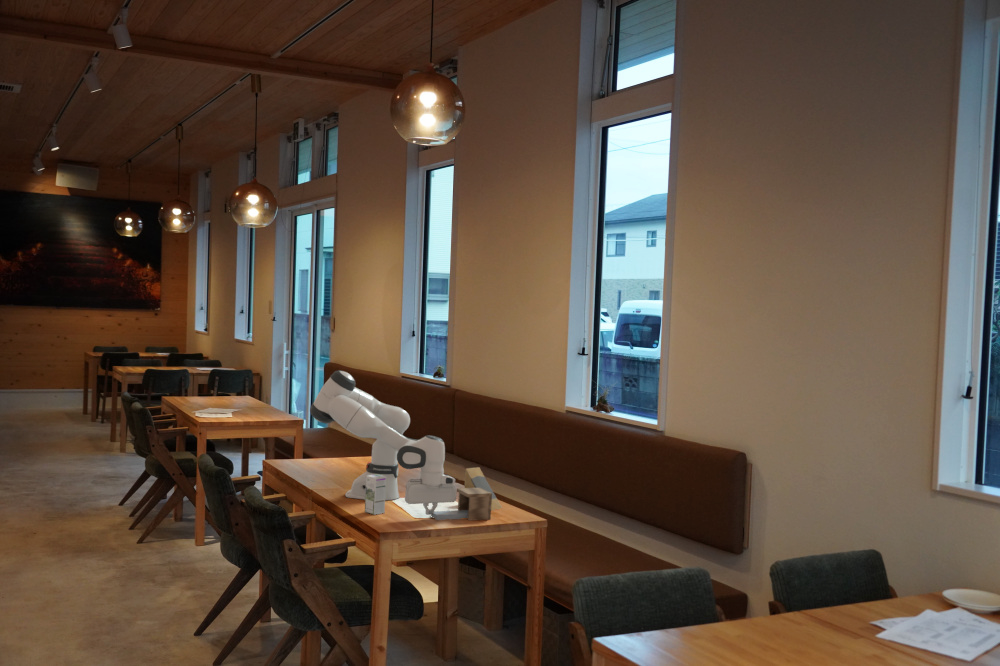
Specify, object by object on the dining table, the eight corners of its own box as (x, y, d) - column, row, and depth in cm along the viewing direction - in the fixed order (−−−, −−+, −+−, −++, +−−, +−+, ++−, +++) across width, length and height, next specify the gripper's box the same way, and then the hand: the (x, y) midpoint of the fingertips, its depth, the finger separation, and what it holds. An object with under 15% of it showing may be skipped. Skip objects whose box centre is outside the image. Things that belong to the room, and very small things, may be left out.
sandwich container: (489, 511, 353) (491, 474, 352) (462, 504, 363) (465, 468, 363) (503, 508, 359) (505, 472, 359) (477, 501, 369) (479, 466, 369)
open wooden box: (466, 520, 333) (468, 494, 333) (455, 514, 343) (456, 488, 343) (490, 519, 337) (492, 493, 337) (478, 512, 347) (480, 487, 347)
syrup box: (385, 513, 337) (387, 476, 337) (373, 515, 332) (375, 477, 332) (375, 510, 341) (377, 473, 341) (363, 512, 336) (365, 475, 336)
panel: (436, 521, 331) (437, 515, 331) (430, 517, 336) (431, 511, 336) (484, 518, 340) (484, 512, 340) (477, 515, 345) (477, 509, 345)
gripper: (409, 480, 324) (407, 517, 325) (459, 479, 334) (457, 515, 334) (403, 477, 330) (401, 513, 330) (452, 476, 339) (450, 511, 339)
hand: (429, 514), depth 332 cm, fingers closed
